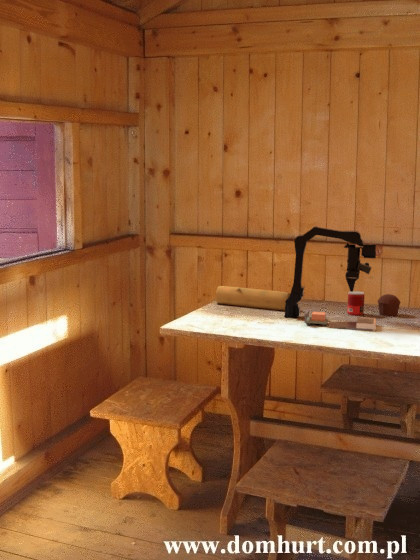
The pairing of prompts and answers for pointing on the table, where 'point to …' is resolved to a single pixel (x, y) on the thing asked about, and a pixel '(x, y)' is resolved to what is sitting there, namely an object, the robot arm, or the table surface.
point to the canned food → (355, 303)
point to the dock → (356, 324)
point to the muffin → (388, 305)
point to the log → (251, 297)
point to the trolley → (316, 318)
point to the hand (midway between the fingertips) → (351, 290)
